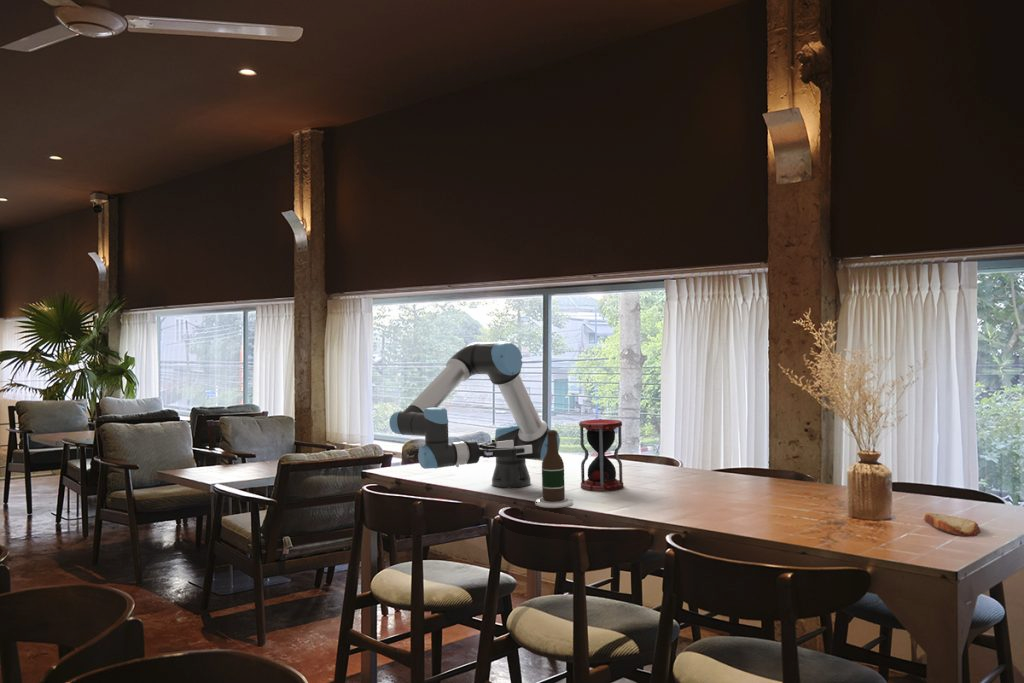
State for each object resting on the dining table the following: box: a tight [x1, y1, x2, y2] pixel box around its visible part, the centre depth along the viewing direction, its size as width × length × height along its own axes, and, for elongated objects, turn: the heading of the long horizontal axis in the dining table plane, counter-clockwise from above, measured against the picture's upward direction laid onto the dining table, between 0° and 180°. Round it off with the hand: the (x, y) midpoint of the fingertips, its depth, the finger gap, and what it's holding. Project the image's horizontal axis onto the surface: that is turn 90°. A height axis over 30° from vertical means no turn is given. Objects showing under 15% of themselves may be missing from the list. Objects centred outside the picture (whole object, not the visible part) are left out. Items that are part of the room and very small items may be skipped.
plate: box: [534, 496, 574, 509], centre depth 285 cm, size 13×13×1 cm
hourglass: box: [578, 418, 624, 492], centre depth 312 cm, size 16×16×25 cm
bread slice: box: [923, 512, 981, 538], centre depth 240 cm, size 18×18×4 cm
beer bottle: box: [541, 429, 566, 502], centre depth 285 cm, size 8×8×24 cm
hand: (522, 446), depth 280 cm, fingers open, 13 cm apart
